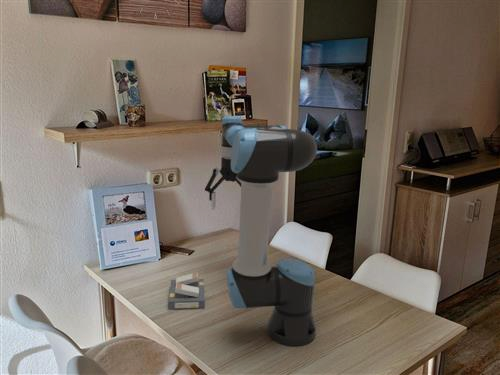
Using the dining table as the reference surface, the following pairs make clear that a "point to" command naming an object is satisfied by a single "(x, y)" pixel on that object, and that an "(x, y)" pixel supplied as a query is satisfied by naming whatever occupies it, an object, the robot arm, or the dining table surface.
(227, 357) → the dining table surface
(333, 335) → the dining table surface
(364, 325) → the dining table surface
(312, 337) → the robot arm
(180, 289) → the rocker front
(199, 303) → the switch unit
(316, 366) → the dining table surface
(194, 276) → the rocker rear
